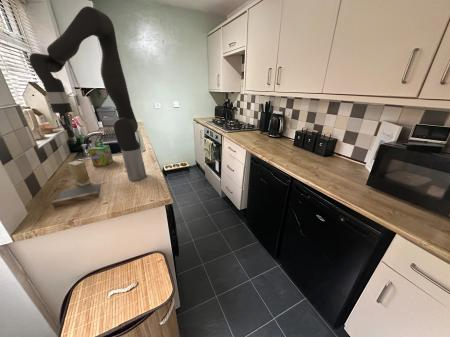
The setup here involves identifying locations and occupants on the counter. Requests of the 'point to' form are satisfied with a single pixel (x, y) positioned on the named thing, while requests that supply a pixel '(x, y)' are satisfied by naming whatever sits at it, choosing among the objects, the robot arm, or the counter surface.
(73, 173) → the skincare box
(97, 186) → the mat
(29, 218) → the counter surface
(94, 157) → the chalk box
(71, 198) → the rail
